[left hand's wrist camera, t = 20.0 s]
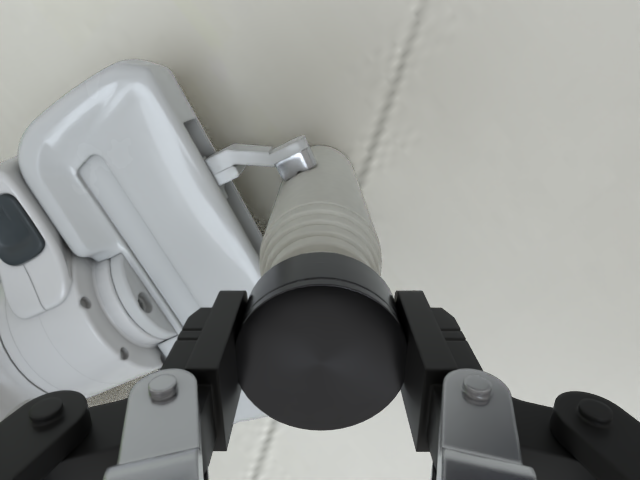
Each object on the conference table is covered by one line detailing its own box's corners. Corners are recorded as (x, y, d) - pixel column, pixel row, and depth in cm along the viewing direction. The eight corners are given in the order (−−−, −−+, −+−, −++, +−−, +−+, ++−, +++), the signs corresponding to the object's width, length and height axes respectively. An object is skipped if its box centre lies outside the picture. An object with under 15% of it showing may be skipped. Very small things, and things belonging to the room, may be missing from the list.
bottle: (367, 163, 28) (444, 309, 11) (337, 225, 29) (362, 439, 12) (300, 133, 27) (270, 239, 10) (273, 198, 29) (207, 386, 12)
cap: (214, 307, 12) (195, 349, 10) (336, 219, 11) (339, 248, 9) (307, 403, 14) (305, 455, 12) (425, 332, 13) (443, 377, 11)
